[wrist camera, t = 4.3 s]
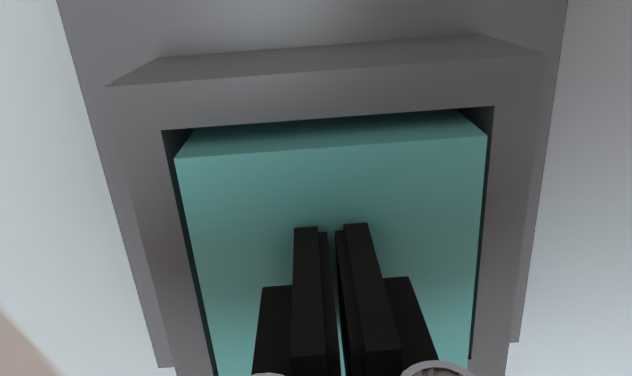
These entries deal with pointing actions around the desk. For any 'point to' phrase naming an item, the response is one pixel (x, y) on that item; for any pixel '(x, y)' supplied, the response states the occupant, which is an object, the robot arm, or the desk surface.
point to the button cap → (334, 214)
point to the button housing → (312, 103)
